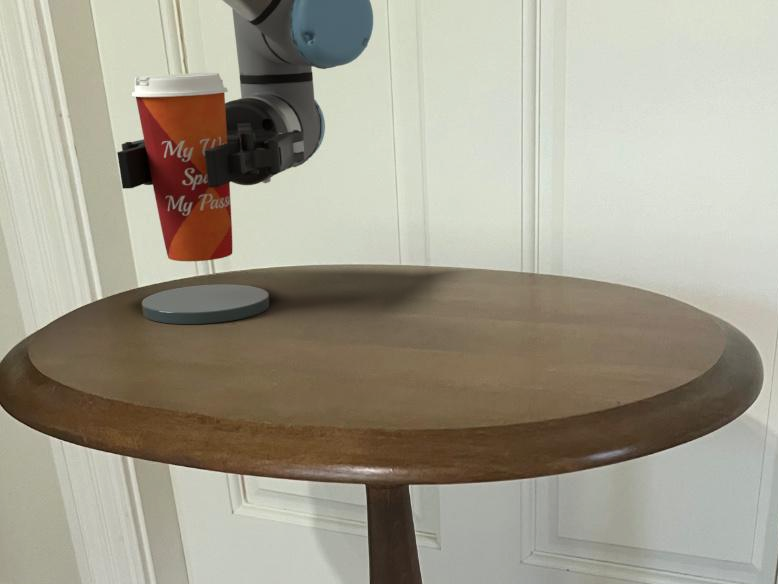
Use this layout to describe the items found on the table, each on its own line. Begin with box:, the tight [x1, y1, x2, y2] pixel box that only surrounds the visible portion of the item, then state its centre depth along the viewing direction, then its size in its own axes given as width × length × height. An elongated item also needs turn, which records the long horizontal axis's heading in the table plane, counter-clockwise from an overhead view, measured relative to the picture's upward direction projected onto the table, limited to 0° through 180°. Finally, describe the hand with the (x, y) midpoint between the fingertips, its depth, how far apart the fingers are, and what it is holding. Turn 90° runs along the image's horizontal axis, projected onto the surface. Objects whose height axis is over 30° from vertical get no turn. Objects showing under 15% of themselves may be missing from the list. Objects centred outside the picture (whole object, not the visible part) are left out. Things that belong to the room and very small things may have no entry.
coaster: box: [141, 283, 270, 325], centre depth 95 cm, size 11×11×1 cm
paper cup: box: [131, 72, 233, 262], centre depth 90 cm, size 8×8×14 cm
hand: (167, 169), depth 86 cm, fingers closed on paper cup, 6 cm apart
